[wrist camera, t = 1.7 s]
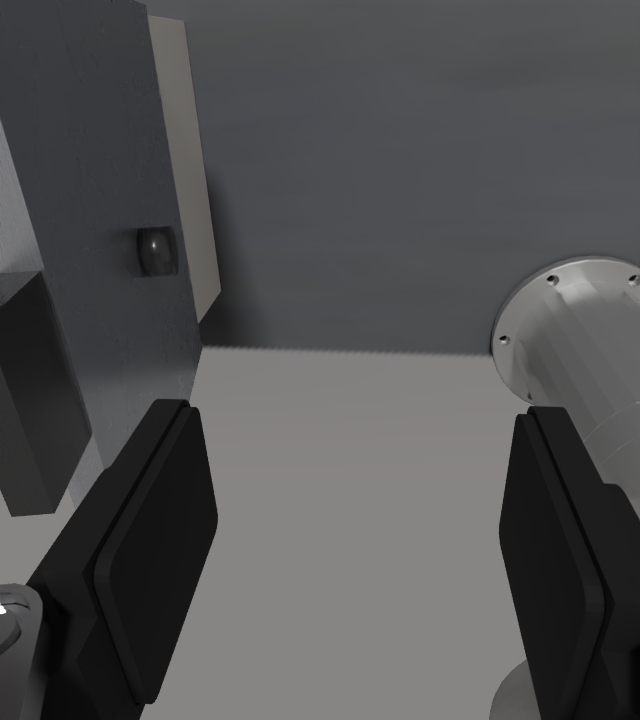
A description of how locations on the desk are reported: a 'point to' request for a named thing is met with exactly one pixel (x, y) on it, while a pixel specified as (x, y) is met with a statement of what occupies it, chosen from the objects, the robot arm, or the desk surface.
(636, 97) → the desk surface
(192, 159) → the white open box
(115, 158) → the lid
